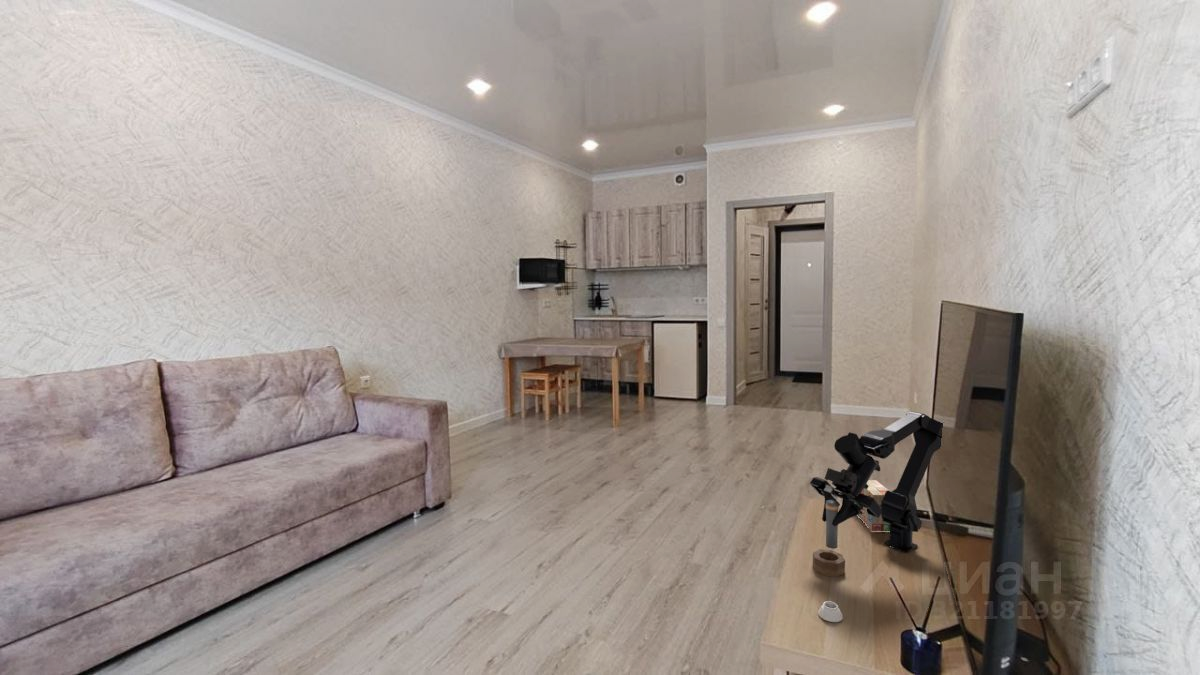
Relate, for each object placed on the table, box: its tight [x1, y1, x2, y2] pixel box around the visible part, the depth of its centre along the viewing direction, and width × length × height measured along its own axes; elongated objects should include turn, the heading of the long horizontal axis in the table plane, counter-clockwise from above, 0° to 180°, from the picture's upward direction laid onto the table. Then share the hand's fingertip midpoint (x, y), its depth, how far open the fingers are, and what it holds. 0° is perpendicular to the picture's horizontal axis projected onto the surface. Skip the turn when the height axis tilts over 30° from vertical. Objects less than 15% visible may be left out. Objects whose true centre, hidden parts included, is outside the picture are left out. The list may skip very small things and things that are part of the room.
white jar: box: [818, 600, 844, 623], centre depth 122 cm, size 5×3×5 cm
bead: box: [812, 548, 846, 578], centre depth 143 cm, size 7×7×4 cm
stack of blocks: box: [858, 479, 890, 532], centre depth 173 cm, size 21×6×12 cm, turn 176°
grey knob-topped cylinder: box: [825, 500, 839, 550], centre depth 141 cm, size 3×3×12 cm
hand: (828, 523), depth 140 cm, fingers closed on grey knob-topped cylinder, 3 cm apart
